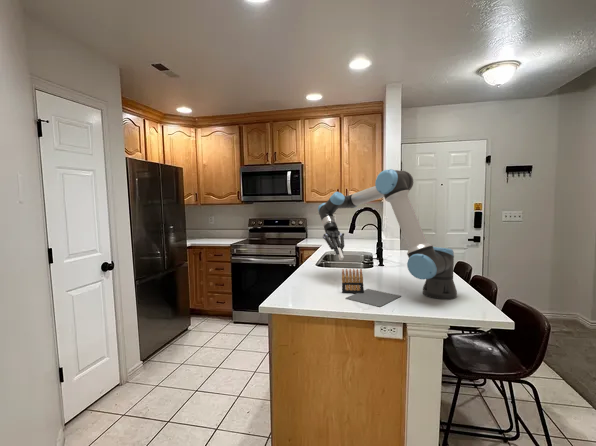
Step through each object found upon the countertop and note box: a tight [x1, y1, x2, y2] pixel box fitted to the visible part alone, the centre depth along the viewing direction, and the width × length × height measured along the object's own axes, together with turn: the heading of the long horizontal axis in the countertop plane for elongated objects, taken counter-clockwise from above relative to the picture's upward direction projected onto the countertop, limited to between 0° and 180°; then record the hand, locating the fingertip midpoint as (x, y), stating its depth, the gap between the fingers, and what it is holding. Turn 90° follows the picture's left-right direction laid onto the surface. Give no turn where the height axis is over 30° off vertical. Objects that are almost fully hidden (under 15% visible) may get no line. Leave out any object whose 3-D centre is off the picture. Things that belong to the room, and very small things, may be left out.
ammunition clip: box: [341, 268, 365, 294], centre depth 155 cm, size 11×2×12 cm, turn 77°
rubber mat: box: [345, 288, 402, 308], centre depth 148 cm, size 18×20×1 cm
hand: (341, 259), depth 167 cm, fingers closed
